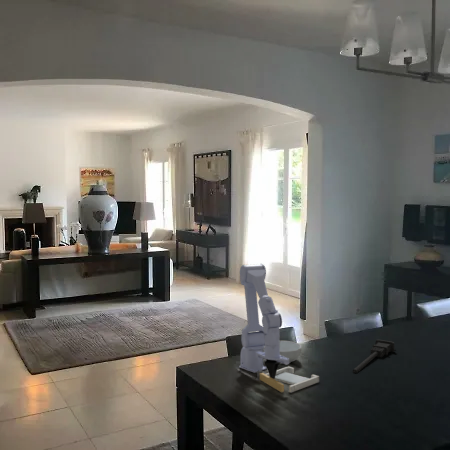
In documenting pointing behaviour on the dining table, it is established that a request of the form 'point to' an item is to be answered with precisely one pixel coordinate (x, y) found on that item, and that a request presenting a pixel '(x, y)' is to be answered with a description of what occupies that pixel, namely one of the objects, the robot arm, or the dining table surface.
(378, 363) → the dining table surface
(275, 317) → the robot arm
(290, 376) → the hard drive
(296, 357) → the cereal bowl
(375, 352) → the electrical plug
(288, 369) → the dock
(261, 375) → the bar
